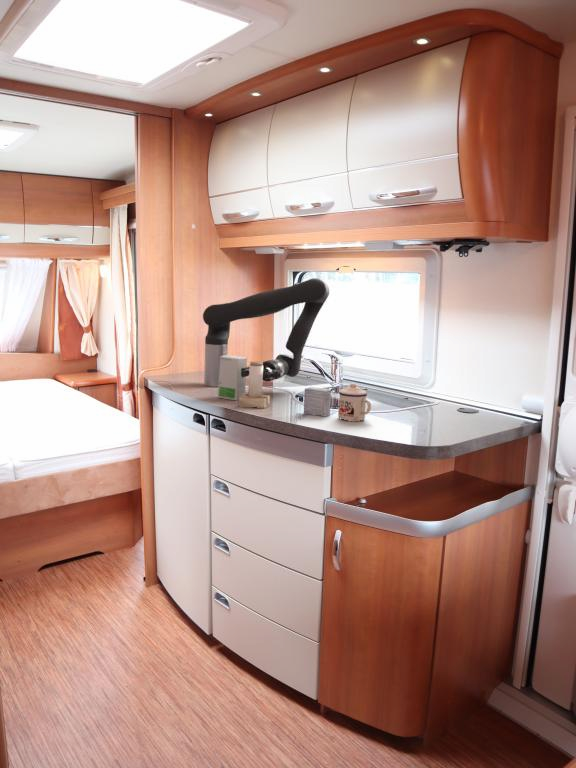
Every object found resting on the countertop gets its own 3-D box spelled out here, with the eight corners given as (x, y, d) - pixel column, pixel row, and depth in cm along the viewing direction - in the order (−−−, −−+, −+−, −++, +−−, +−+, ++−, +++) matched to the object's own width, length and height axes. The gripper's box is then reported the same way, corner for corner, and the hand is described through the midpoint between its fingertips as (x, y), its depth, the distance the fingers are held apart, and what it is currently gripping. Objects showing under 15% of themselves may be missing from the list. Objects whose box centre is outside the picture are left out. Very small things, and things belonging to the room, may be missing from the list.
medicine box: (330, 415, 205) (331, 389, 204) (324, 417, 201) (325, 391, 200) (309, 411, 209) (310, 386, 207) (303, 413, 205) (304, 388, 204)
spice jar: (249, 394, 218) (251, 361, 216) (263, 395, 217) (264, 362, 215) (246, 396, 213) (248, 362, 211) (260, 398, 212) (261, 363, 211)
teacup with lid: (331, 418, 200) (333, 382, 198) (349, 414, 206) (351, 380, 204) (360, 425, 191) (362, 388, 190) (378, 421, 198) (380, 385, 196)
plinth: (245, 402, 221) (245, 393, 220) (269, 403, 219) (270, 395, 219) (238, 406, 212) (239, 397, 212) (264, 408, 211) (264, 399, 210)
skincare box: (217, 398, 226) (218, 356, 224) (227, 395, 232) (228, 354, 230) (236, 400, 222) (238, 358, 220) (246, 398, 228) (247, 356, 226)
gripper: (254, 358, 230) (235, 362, 215) (289, 361, 225) (273, 366, 210) (253, 378, 231) (234, 384, 216) (288, 381, 226) (272, 388, 211)
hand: (253, 375), depth 213 cm, fingers open, 8 cm apart
